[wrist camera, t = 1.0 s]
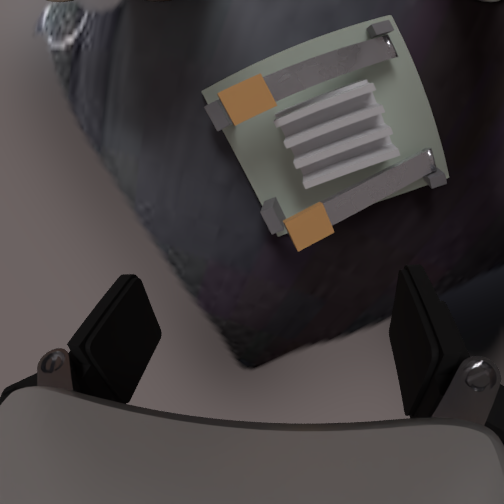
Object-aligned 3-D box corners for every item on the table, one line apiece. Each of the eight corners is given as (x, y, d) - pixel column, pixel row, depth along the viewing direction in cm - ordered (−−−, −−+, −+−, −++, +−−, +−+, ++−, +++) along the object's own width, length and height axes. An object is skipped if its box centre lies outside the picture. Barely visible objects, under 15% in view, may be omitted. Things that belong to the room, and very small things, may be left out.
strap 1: (383, 33, 23) (392, 30, 22) (395, 60, 25) (405, 58, 23) (216, 95, 25) (217, 93, 23) (233, 125, 26) (234, 125, 24)
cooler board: (388, 16, 23) (405, 4, 18) (446, 174, 31) (468, 194, 26) (204, 91, 32) (182, 94, 26) (278, 232, 40) (272, 260, 35)
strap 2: (426, 144, 29) (436, 145, 27) (433, 169, 30) (442, 172, 28) (280, 217, 30) (284, 223, 28) (293, 244, 31) (298, 251, 30)
